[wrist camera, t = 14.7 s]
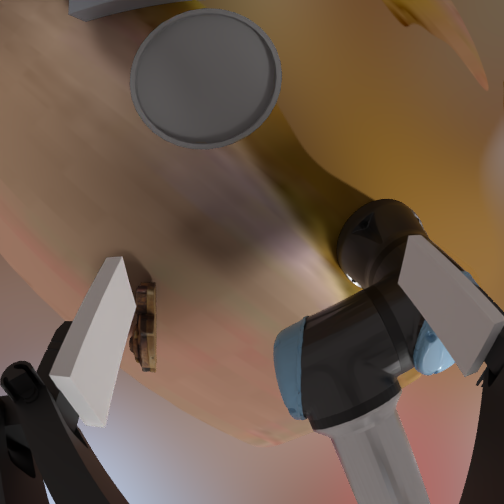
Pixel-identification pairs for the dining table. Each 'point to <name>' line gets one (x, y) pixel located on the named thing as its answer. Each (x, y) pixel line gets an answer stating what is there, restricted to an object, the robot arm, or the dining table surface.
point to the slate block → (108, 7)
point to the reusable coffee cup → (205, 78)
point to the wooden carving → (145, 327)
